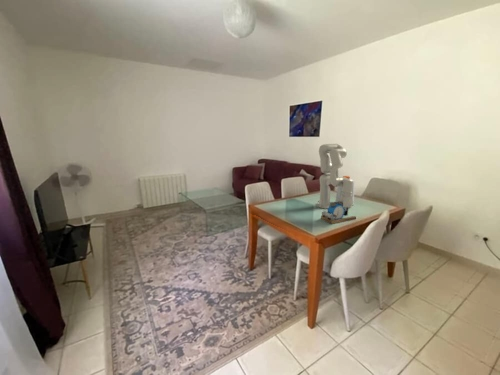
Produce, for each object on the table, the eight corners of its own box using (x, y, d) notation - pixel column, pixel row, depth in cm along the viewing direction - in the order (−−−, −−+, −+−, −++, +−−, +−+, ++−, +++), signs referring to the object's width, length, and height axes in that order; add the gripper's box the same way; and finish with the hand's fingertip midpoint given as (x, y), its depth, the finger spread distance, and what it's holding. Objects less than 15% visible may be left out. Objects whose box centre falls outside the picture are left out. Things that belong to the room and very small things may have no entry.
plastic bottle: (355, 205, 217) (357, 177, 211) (339, 206, 218) (341, 177, 211) (348, 201, 232) (350, 174, 226) (334, 201, 232) (335, 175, 226)
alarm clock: (331, 221, 179) (333, 204, 176) (326, 219, 185) (327, 201, 181) (344, 219, 184) (345, 201, 181) (338, 216, 190) (340, 199, 186)
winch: (319, 218, 186) (320, 209, 184) (324, 217, 188) (325, 209, 186) (333, 225, 172) (333, 215, 170) (338, 224, 174) (338, 214, 172)
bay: (323, 218, 188) (323, 215, 187) (344, 214, 195) (344, 212, 195) (334, 223, 176) (334, 221, 175) (355, 219, 183) (356, 216, 183)
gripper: (350, 192, 189) (348, 212, 193) (336, 194, 184) (335, 215, 188) (357, 194, 182) (355, 215, 186) (343, 196, 177) (341, 218, 181)
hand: (345, 215), depth 187 cm, fingers closed
